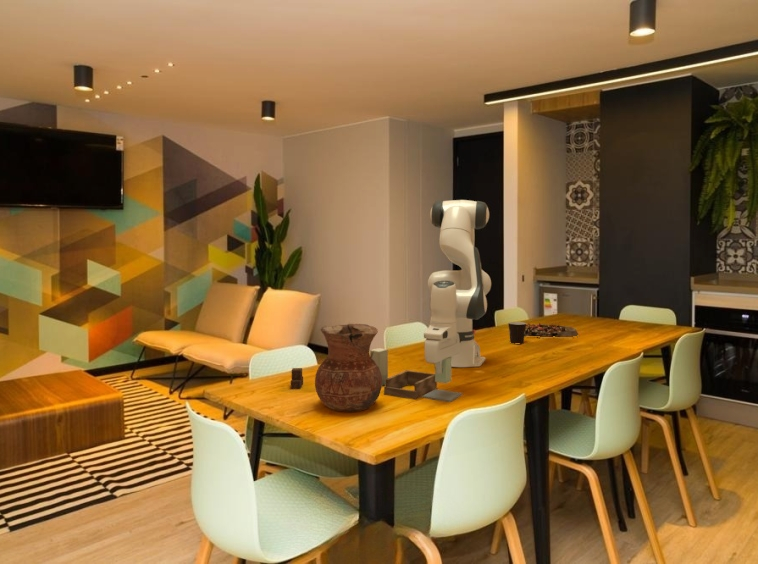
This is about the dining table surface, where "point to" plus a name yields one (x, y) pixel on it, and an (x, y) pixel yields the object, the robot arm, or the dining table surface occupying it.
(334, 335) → the brown clay vase
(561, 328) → the food dish
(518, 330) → the dark brown cup
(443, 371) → the block
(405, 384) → the caddy
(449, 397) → the pad
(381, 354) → the box
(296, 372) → the stack of crates
